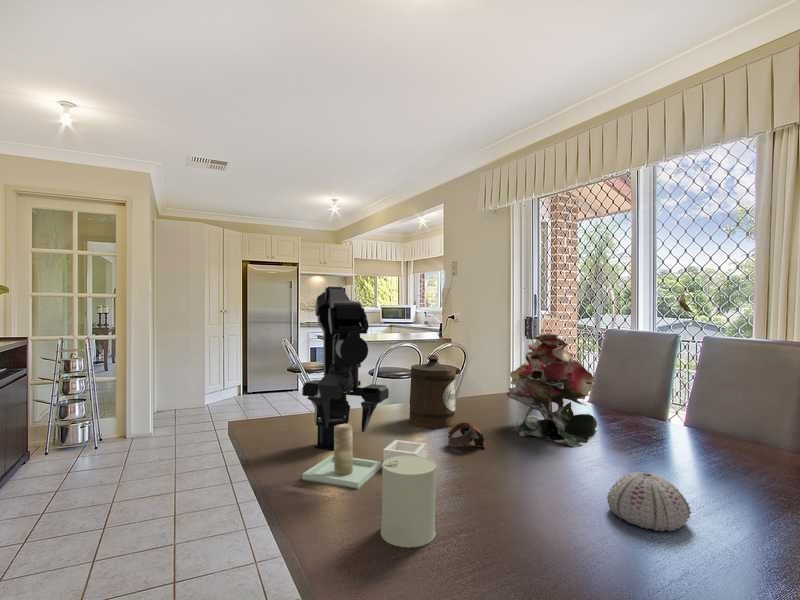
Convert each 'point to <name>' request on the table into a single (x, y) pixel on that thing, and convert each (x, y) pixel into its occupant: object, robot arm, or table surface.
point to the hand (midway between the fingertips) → (344, 429)
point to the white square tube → (405, 449)
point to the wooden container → (432, 394)
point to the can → (408, 501)
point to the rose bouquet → (552, 391)
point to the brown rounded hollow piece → (466, 435)
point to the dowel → (343, 449)
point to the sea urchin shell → (648, 502)
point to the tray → (354, 480)
